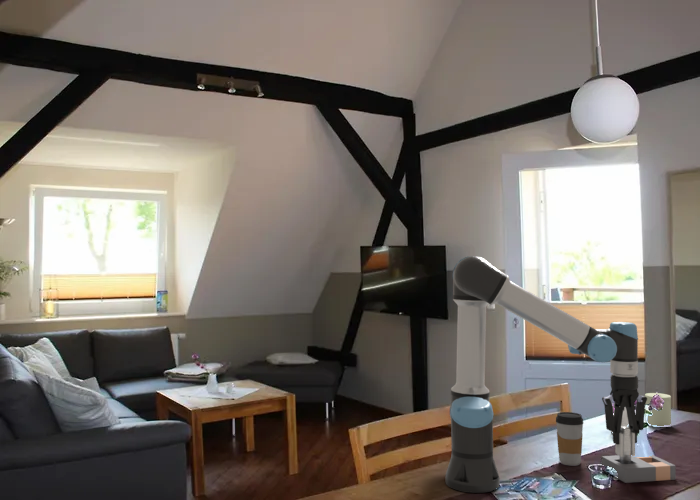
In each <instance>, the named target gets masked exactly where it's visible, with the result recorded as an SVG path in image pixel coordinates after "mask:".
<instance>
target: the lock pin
mask: <svg viewBox="0 0 700 500" xmlns="http://www.w3.org/2000/svg"><path fill="white" fill-rule="evenodd" d="M620 433H622V434H623V456H619V463H621V464H631V428H630V427H627V426H621V431H620Z"/></svg>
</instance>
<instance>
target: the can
mask: <svg viewBox="0 0 700 500" xmlns="http://www.w3.org/2000/svg"><path fill="white" fill-rule="evenodd" d="M656 394H658V395H659V396H660V397H661V398H662V399H664V401H665V402H664V404H663V409H662V410H661V411H657V410H655V409H653V410H652V413H653V415H652V416H648V423H649V424H651V425H657V426H664V425H670V424H671V425H672V396H671V395H670V394H666V393H660V392H648V393H645V394H644V397H647V401H646V403H645V404H649V403H650V401H651V399H652V398H653V396H654V395H656Z"/></svg>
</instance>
